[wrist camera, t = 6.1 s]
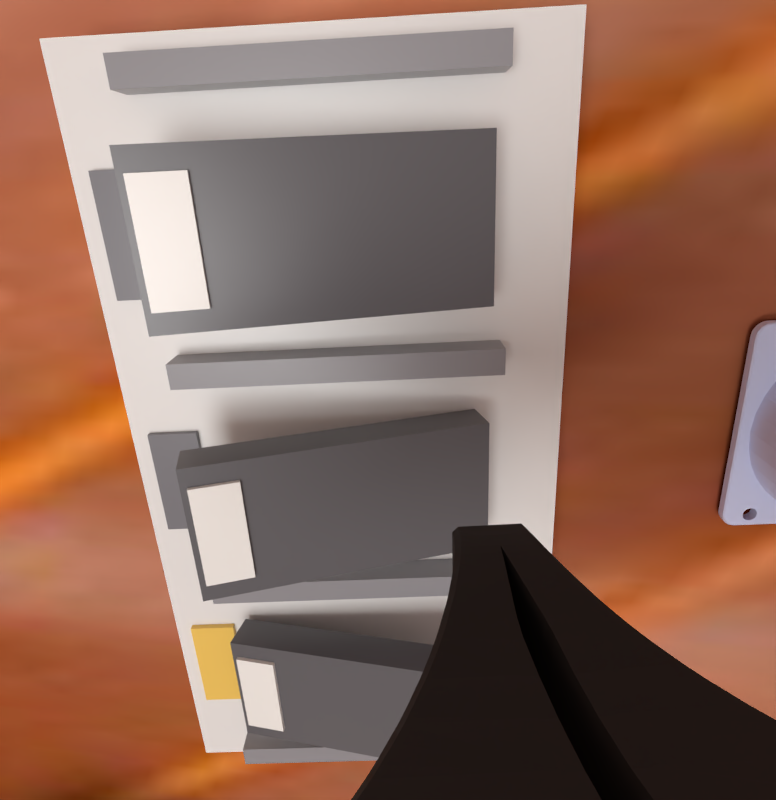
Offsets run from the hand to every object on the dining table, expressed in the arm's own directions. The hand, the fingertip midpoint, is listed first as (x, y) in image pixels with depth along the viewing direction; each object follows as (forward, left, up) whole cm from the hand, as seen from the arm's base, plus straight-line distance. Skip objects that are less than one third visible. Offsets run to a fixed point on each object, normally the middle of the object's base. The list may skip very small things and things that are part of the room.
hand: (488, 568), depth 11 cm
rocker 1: (+3, -6, -6) cm, 9 cm away
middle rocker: (+3, +2, -6) cm, 7 cm away
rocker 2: (+3, +10, -6) cm, 12 cm away
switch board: (+3, +2, -10) cm, 11 cm away
